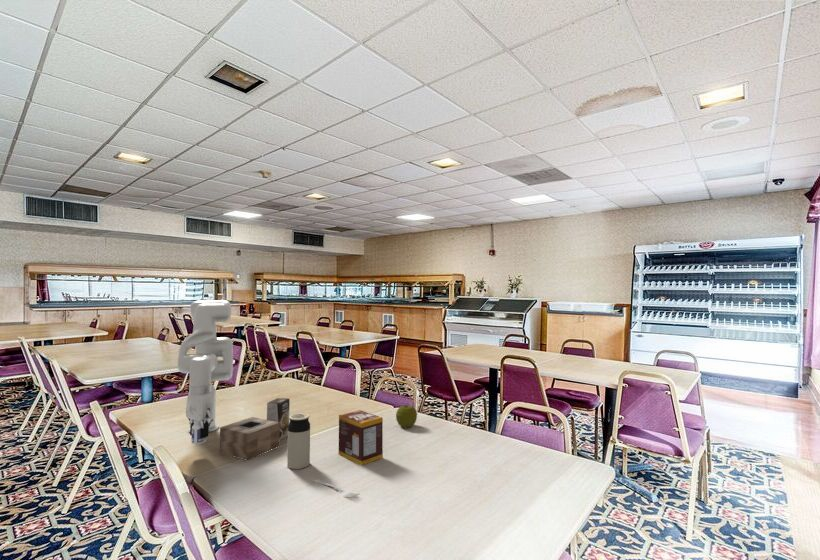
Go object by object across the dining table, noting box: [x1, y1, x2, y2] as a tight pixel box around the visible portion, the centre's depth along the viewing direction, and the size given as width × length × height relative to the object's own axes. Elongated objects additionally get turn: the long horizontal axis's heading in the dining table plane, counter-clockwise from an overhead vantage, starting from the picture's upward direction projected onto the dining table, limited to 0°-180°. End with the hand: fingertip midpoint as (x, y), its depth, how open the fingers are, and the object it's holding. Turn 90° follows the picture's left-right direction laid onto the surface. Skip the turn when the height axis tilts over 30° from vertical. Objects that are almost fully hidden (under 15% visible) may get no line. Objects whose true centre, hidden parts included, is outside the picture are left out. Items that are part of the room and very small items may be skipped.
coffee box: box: [266, 397, 291, 442], centre depth 181 cm, size 9×6×16 cm
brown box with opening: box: [219, 416, 280, 461], centre depth 166 cm, size 16×16×10 cm
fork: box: [314, 479, 359, 498], centre depth 134 cm, size 3×24×2 cm, turn 51°
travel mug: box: [286, 412, 311, 470], centre depth 151 cm, size 8×8×18 cm
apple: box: [395, 403, 418, 429], centre depth 196 cm, size 10×10×11 cm
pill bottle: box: [191, 420, 208, 445], centre depth 159 cm, size 5×5×9 cm
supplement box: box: [338, 409, 384, 466], centre depth 160 cm, size 10×15×16 cm
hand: (199, 435), depth 159 cm, fingers closed on pill bottle, 5 cm apart
